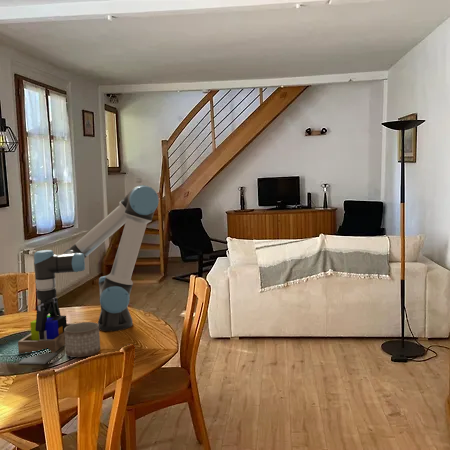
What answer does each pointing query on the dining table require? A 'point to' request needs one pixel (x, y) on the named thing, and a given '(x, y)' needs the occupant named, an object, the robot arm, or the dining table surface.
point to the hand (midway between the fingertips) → (50, 341)
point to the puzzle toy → (50, 327)
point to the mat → (38, 359)
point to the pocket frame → (41, 343)
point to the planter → (82, 339)
